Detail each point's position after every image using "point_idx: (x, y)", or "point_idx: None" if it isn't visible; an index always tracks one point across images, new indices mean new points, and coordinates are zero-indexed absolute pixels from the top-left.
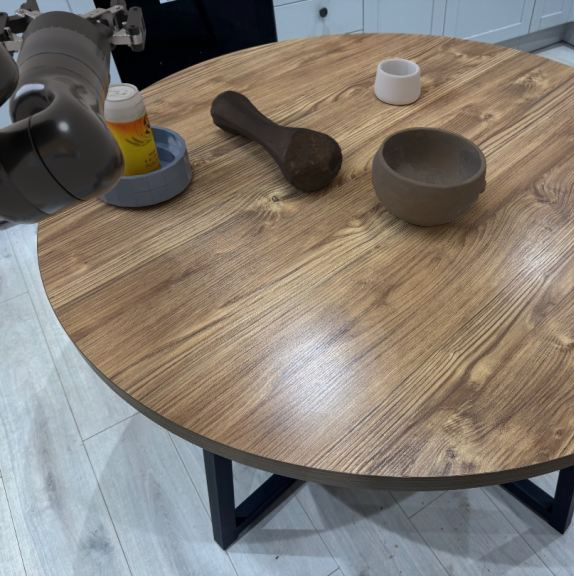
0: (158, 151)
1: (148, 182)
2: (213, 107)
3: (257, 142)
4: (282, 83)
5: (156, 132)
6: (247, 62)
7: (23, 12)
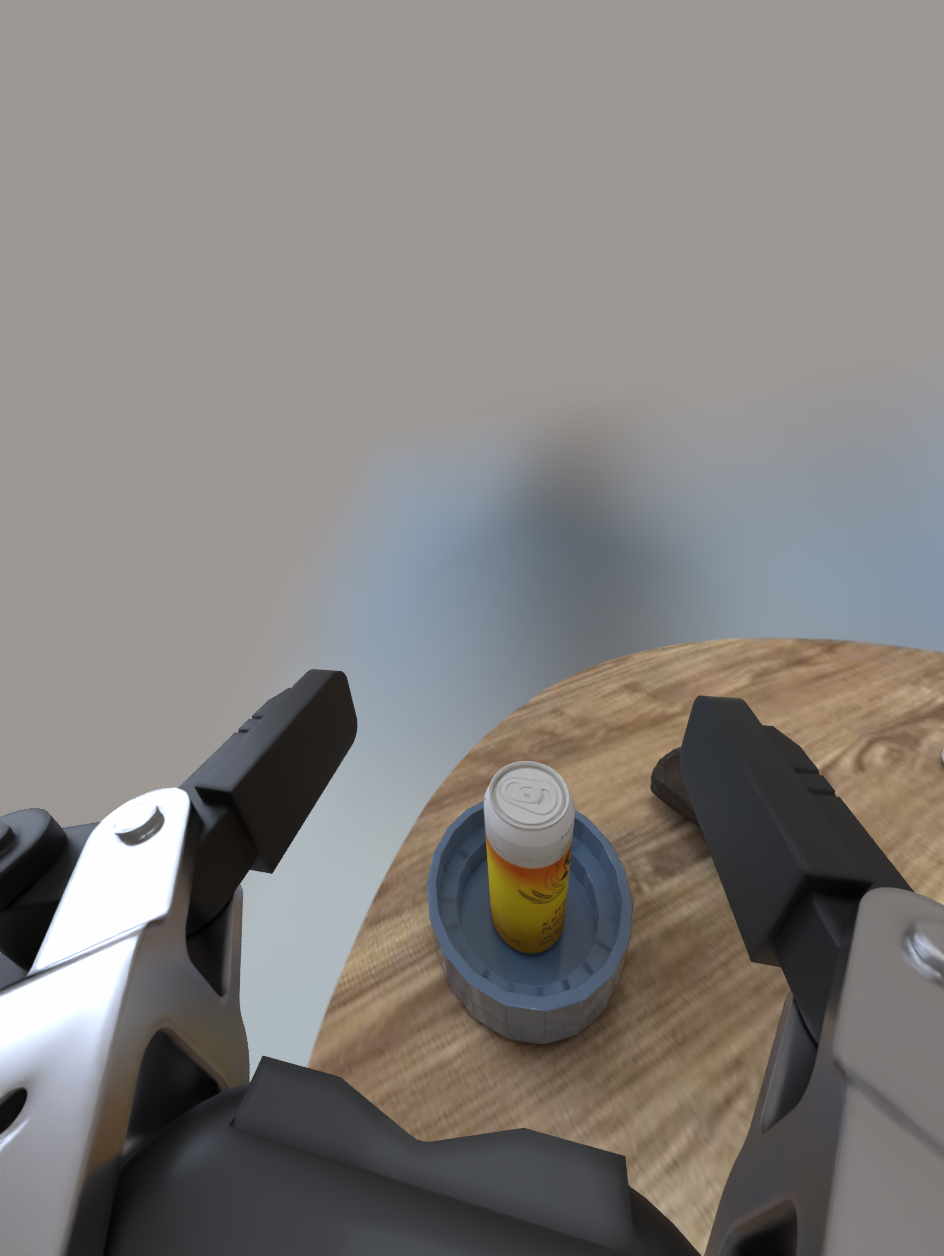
0: None
1: (546, 1019)
2: (662, 772)
3: None
4: None
5: None
6: (669, 664)
7: (128, 854)
